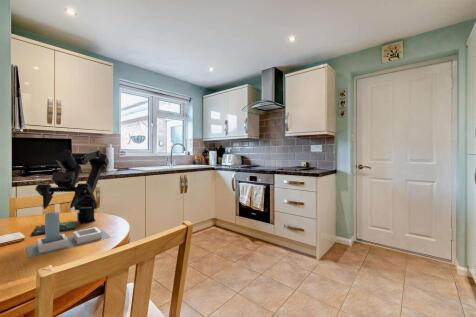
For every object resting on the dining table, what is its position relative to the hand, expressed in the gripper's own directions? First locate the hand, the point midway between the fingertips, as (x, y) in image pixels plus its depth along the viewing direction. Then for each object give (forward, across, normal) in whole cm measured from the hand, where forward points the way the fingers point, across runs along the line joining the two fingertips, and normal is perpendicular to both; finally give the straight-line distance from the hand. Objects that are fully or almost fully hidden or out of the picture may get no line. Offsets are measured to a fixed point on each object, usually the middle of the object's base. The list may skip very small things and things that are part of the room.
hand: (57, 207), depth 89 cm
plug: (+14, +2, +3) cm, 15 cm away
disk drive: (+2, -7, +18) cm, 20 cm away
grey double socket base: (+13, +6, +6) cm, 15 cm away
